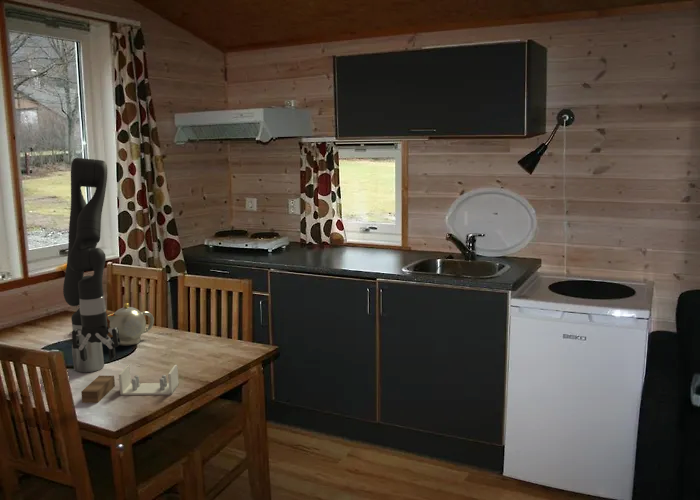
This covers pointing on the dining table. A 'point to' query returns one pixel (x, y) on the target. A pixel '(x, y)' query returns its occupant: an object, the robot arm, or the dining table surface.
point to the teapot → (130, 324)
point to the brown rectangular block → (98, 389)
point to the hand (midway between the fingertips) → (98, 359)
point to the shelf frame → (147, 384)
